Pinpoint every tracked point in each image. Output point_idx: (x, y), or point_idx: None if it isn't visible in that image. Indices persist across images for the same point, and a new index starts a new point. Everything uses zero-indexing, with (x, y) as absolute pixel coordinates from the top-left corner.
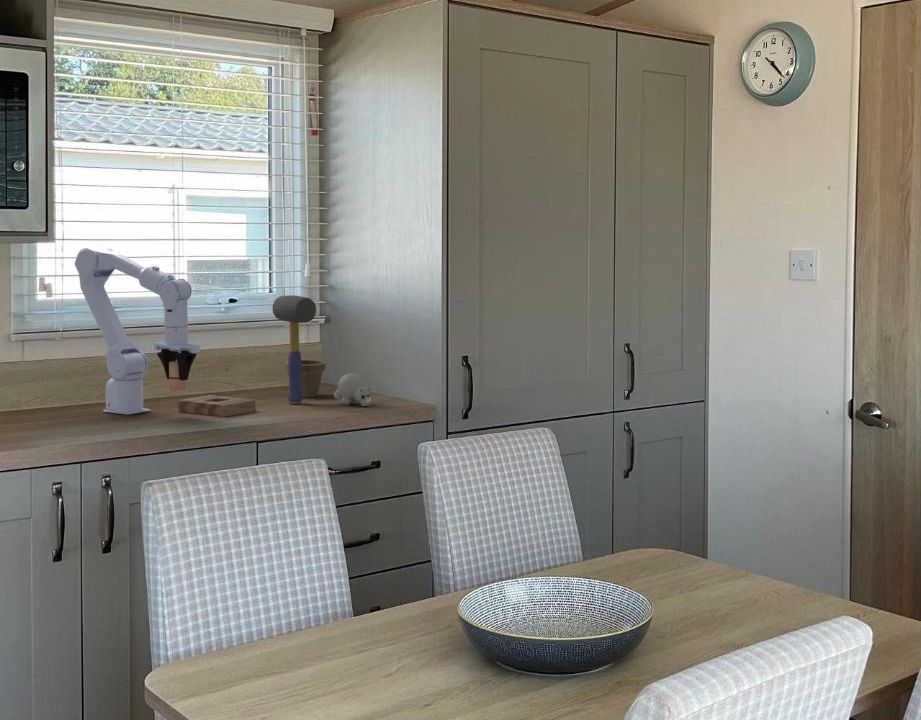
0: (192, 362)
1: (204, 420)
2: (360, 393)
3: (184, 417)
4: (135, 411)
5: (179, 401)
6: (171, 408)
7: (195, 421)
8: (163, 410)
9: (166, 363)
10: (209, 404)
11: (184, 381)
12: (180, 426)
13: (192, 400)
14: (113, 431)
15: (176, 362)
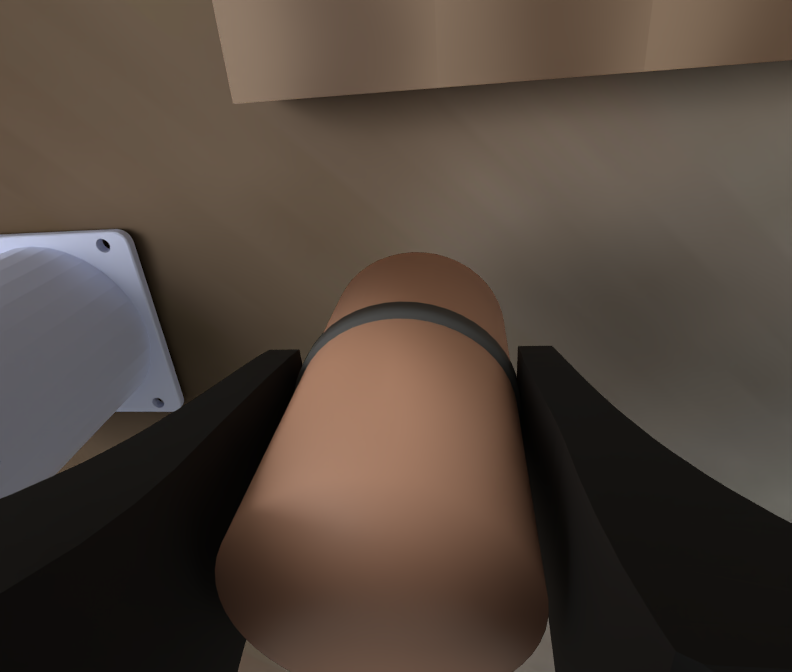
0: (741, 500)
1: (758, 271)
2: None
3: (527, 263)
4: (154, 352)
5: (247, 101)
6: (71, 8)
7: (720, 333)
8: (135, 132)
9: (237, 636)
10: (671, 68)
11: (505, 349)
12: (746, 488)
13: (346, 17)
14: (539, 669)
15: (457, 663)
